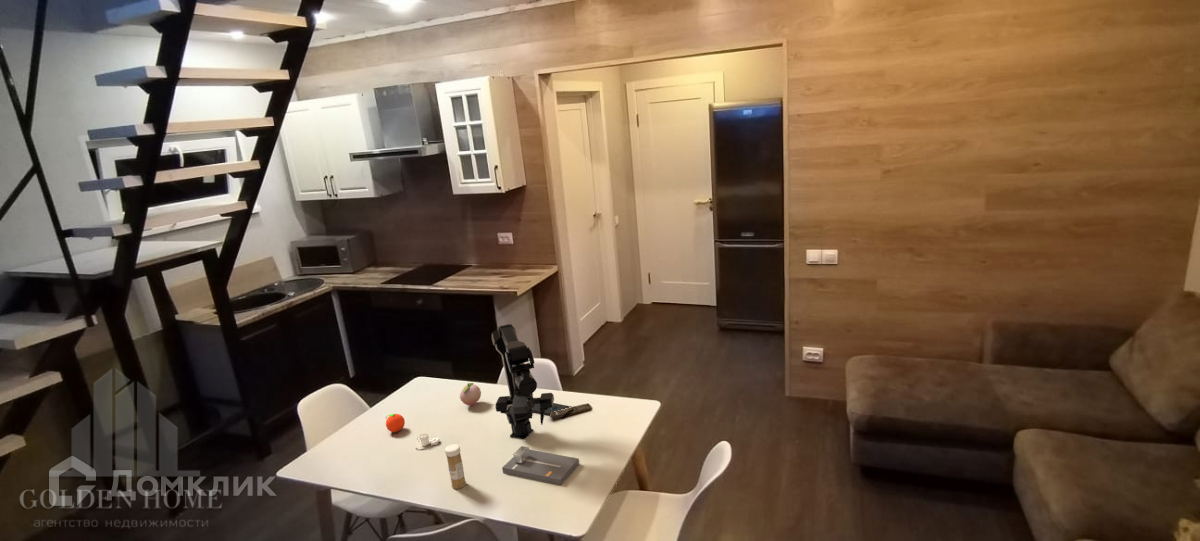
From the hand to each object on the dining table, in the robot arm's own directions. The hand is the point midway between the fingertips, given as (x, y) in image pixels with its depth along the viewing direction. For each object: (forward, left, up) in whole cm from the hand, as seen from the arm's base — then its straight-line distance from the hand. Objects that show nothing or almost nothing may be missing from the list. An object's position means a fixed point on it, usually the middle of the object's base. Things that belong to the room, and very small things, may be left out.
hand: (528, 425), depth 193 cm
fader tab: (0, -5, -10) cm, 11 cm away
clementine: (-63, 0, -12) cm, 65 cm away
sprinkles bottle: (-14, -21, -12) cm, 28 cm away
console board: (+7, -5, -12) cm, 15 cm away
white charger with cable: (-41, -6, -13) cm, 44 cm away
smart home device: (-13, +31, -13) cm, 36 cm away
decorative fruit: (-46, +26, -12) cm, 54 cm away
